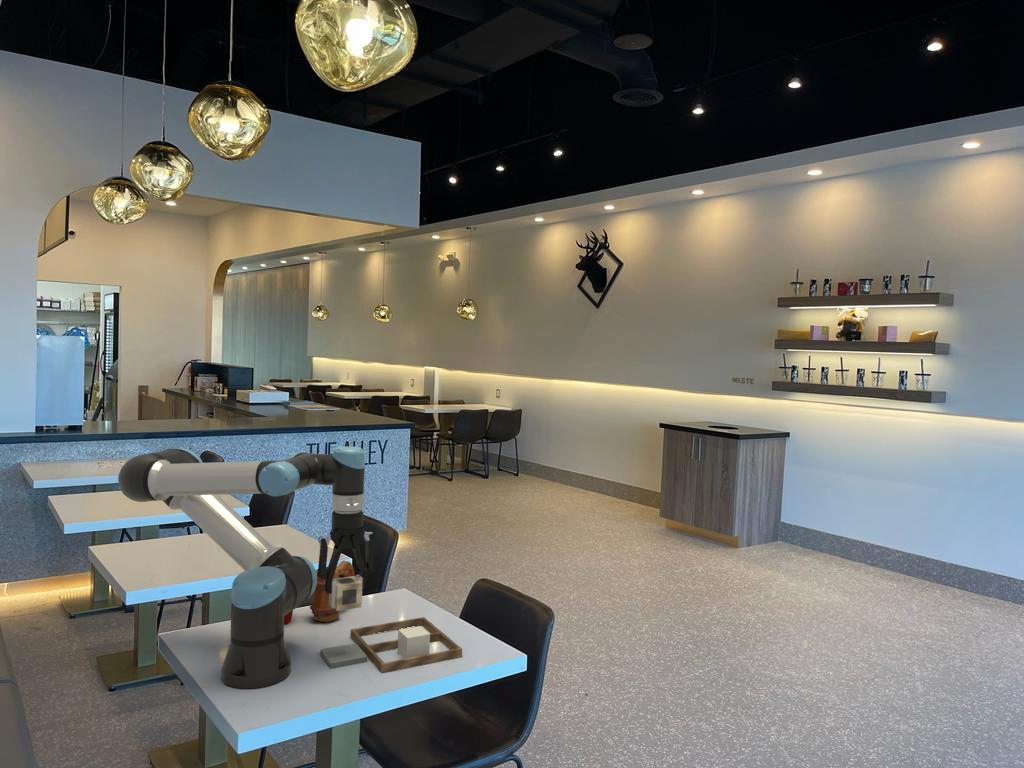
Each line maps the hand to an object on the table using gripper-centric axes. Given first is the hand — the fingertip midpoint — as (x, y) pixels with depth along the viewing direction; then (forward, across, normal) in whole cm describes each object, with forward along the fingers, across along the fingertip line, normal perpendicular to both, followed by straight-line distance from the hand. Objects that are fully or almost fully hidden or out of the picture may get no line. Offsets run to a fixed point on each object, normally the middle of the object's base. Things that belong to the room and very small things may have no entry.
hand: (345, 603), depth 175 cm
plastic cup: (+14, -9, +30) cm, 34 cm away
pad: (+13, 0, 0) cm, 13 cm away
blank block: (+14, +16, -6) cm, 22 cm away
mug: (+14, +5, +28) cm, 32 cm away
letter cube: (0, 0, 0) cm, 0 cm away
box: (+13, +16, 0) cm, 21 cm away
